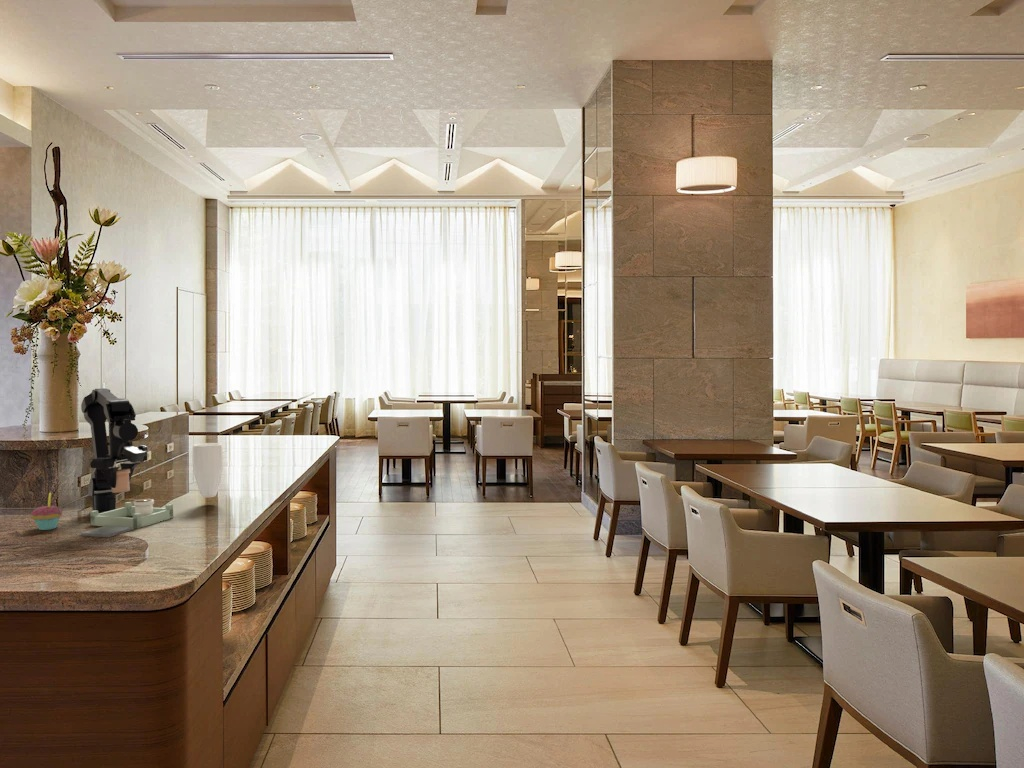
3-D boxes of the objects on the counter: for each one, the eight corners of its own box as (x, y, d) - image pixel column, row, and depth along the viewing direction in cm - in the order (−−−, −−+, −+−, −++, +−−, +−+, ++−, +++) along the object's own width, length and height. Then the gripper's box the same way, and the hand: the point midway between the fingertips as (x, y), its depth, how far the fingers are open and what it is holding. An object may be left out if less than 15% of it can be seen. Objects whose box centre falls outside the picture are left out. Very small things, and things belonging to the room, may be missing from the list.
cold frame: (90, 525, 251) (90, 511, 251) (128, 514, 267) (128, 501, 266) (137, 528, 246) (137, 514, 246) (173, 517, 262) (172, 504, 261)
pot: (129, 523, 253) (129, 501, 253) (143, 519, 259) (142, 498, 259) (145, 524, 251) (144, 502, 251) (158, 520, 257) (158, 499, 257)
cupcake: (69, 526, 250) (67, 488, 249) (45, 532, 242) (43, 493, 241) (48, 524, 253) (47, 487, 252) (24, 530, 245) (23, 491, 244)
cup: (186, 506, 281) (185, 445, 280) (208, 500, 290) (206, 442, 289) (209, 508, 277) (208, 446, 276) (230, 502, 286) (229, 443, 285)
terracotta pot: (105, 492, 255) (105, 470, 255) (120, 489, 261) (119, 467, 261) (121, 493, 253) (120, 471, 253) (135, 489, 259) (134, 468, 259)
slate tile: (80, 535, 238) (80, 532, 238) (106, 528, 247) (106, 525, 247) (107, 537, 235) (107, 534, 235) (132, 529, 244) (132, 527, 244)
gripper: (117, 442, 245) (118, 492, 246) (160, 435, 263) (161, 482, 264) (88, 441, 248) (89, 491, 249) (132, 435, 266) (133, 481, 267)
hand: (120, 486), depth 257 cm, fingers closed on terracotta pot, 5 cm apart
